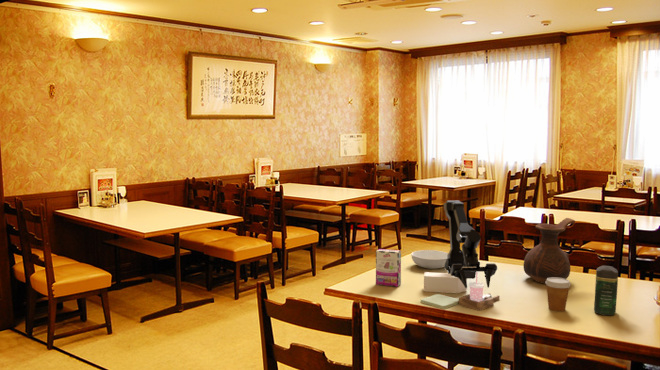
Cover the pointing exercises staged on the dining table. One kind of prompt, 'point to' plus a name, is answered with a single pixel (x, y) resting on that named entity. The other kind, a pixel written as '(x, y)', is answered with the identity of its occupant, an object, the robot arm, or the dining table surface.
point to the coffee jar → (606, 290)
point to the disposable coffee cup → (557, 293)
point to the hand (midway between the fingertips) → (477, 287)
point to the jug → (548, 254)
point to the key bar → (486, 296)
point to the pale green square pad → (440, 301)
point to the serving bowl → (429, 258)
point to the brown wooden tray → (477, 305)
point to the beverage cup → (476, 290)
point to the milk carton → (443, 283)
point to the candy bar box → (388, 267)
